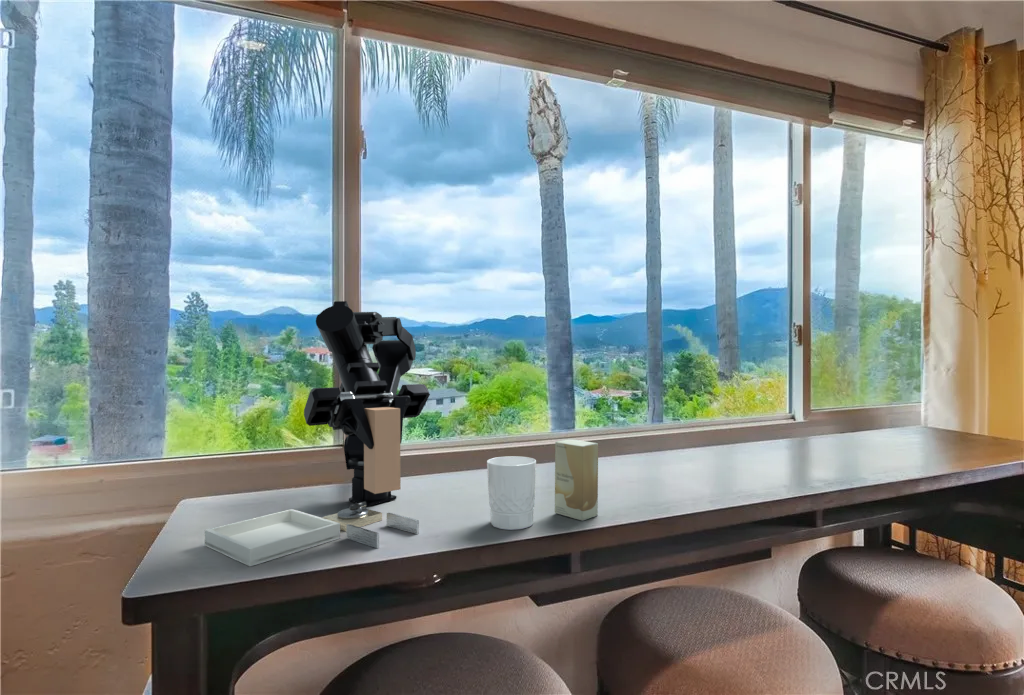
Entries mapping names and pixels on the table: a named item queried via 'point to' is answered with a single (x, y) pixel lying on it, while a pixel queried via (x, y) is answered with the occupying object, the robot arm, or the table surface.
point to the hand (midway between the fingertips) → (386, 445)
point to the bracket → (362, 516)
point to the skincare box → (576, 479)
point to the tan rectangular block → (383, 451)
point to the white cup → (511, 491)
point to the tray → (271, 536)
